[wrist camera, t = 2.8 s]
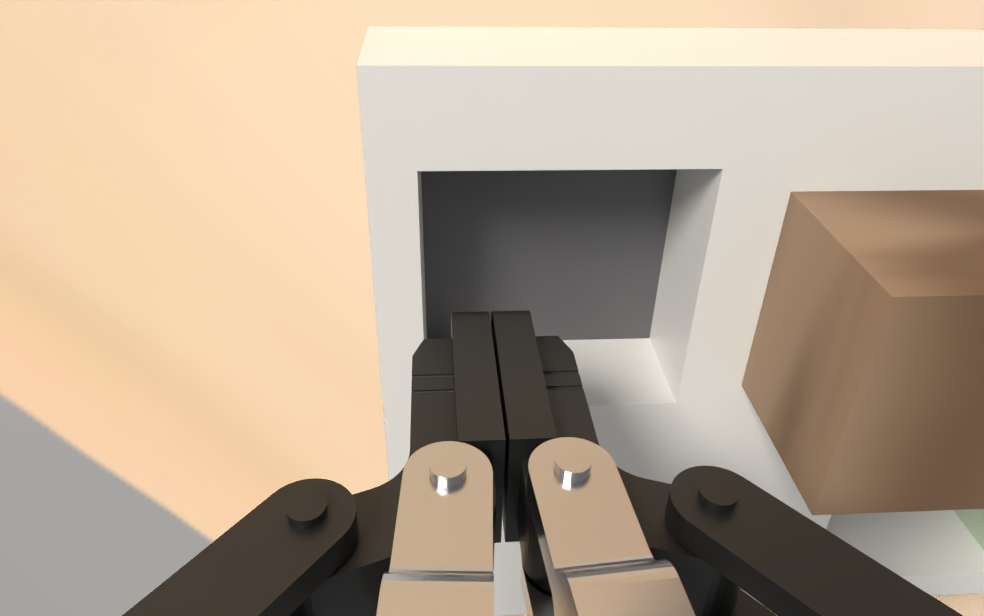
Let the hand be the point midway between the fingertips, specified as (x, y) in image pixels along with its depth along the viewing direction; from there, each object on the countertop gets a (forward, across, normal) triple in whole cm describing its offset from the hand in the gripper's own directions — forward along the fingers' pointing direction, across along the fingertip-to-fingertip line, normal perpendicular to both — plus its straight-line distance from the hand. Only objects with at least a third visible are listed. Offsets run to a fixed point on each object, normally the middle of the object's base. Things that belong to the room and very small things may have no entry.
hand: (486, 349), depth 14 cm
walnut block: (+2, -9, 0) cm, 9 cm away
